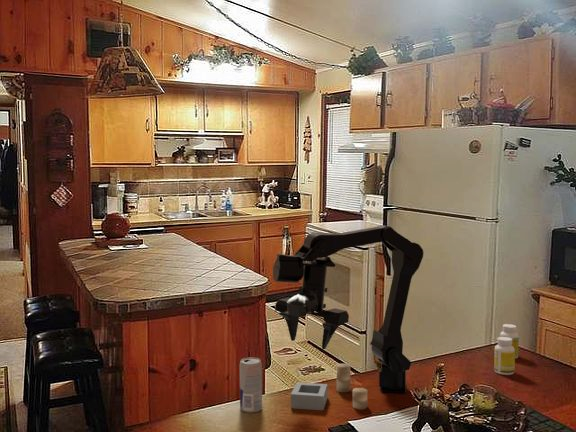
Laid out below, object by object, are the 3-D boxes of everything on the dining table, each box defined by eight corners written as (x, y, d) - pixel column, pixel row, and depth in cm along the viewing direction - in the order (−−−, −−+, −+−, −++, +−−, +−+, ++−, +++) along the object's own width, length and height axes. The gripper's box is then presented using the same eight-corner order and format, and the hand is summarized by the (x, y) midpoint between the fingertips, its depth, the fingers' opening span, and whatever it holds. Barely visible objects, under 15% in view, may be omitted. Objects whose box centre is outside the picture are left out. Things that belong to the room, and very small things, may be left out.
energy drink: (250, 402, 142) (249, 355, 141) (266, 408, 139) (266, 360, 138) (235, 409, 138) (234, 361, 137) (251, 415, 134) (250, 365, 134)
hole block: (327, 397, 145) (327, 384, 144) (323, 410, 137) (323, 396, 137) (296, 395, 146) (296, 382, 146) (290, 408, 138) (290, 394, 138)
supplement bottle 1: (516, 360, 172) (516, 328, 172) (497, 357, 175) (498, 326, 174) (519, 355, 177) (520, 324, 176) (501, 352, 180) (502, 322, 179)
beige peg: (350, 387, 151) (350, 363, 151) (349, 392, 148) (349, 368, 147) (337, 386, 152) (337, 363, 151) (335, 391, 148) (335, 367, 148)
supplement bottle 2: (518, 372, 161) (519, 339, 161) (506, 376, 158) (507, 342, 158) (501, 367, 166) (502, 334, 165) (490, 371, 163) (490, 338, 162)
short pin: (367, 404, 141) (367, 388, 140) (366, 409, 137) (367, 393, 137) (353, 402, 141) (353, 387, 141) (352, 408, 138) (352, 392, 137)
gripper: (264, 279, 141) (259, 341, 141) (329, 292, 130) (323, 359, 131) (290, 276, 150) (284, 334, 150) (352, 288, 139) (346, 351, 140)
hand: (308, 344), depth 143 cm, fingers open, 9 cm apart
